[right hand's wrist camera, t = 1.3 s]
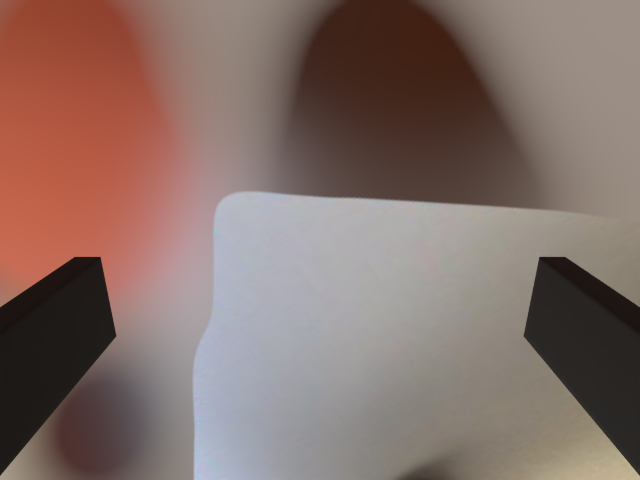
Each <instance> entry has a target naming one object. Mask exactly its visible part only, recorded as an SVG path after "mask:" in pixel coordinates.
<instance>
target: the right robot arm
mask: <svg viewBox="0 0 640 480" xmlns="http://www.w3.org/2000/svg"><path fill="white" fill-rule="evenodd" d="M115 337H116V333H115V327H114V322H113V317H112V312H111V307H110V302H109V297H108V292H107V287H106V282H105V277H104V272H103V267H102V262H101V258H100V257H74V258H73V259H71V260H70V261H68V262H67V263H65V264H64V265H62V266H61V267H59V268H58V269H56V270H55V271H53V272H52V273H51V274H49V275H48V276H46V277H45V278H43V279H42V280H40V281H39V282H37V283H36V284H34V285H33V286H31V287H30V288H28V289H27V290H25V291H24V292H22V293H21V294H19V295H18V296H16V297H15V298H13V299H12V300H11V301H9V302H7V303H6V304H4V305H3V306H2V307H0V475H1V474H2V473H3V472H4V470H5V469H6V468H7V467H8V466H9V464H10V463H11V462H12V461H13V460H14V458H15V457H16V456H17V455H18V454H19V452H20V451H21V450H22V449H23V448H24V446H25V445H26V444H27V443H28V442H29V440H30V439H31V438H32V437H33V436H34V434H35V433H36V432H37V431H38V430H39V428H40V427H41V426H42V425H43V424H44V422H45V421H46V420H47V419H48V418H49V416H50V415H51V414H52V413H53V412H54V410H55V409H56V408H57V407H58V406H59V404H60V403H61V402H62V401H63V400H64V398H65V397H66V396H67V395H68V394H69V392H70V391H71V390H72V389H73V388H74V386H75V385H76V384H77V383H78V382H79V380H80V379H81V378H82V377H83V376H84V374H85V373H86V372H87V371H88V370H89V368H90V367H91V366H92V365H93V364H94V362H95V361H96V360H97V359H98V358H99V356H100V355H101V354H102V353H103V352H104V350H105V349H106V348H107V347H108V345H109V344H110V343H111V342H112V341H113V340H114V338H115ZM524 337H525V338H526V340H527V341H528V342H529V343H530V344H531V346H532V347H533V348H534V349H535V350H536V352H537V353H538V354H539V355H540V356H541V358H542V359H543V360H544V361H545V362H546V364H547V365H548V366H549V367H550V368H551V370H552V371H553V372H554V373H555V374H556V376H557V377H558V378H559V379H560V380H561V382H562V383H563V384H564V385H565V386H566V388H567V389H568V390H569V391H570V392H571V394H572V395H573V396H574V397H575V398H576V400H577V401H578V402H579V403H580V404H581V406H582V407H583V408H584V409H585V410H586V412H587V413H588V414H589V415H590V416H591V418H592V419H593V420H594V421H595V422H596V424H597V425H598V426H599V427H600V428H601V430H602V431H603V432H604V433H605V434H606V436H607V437H608V438H609V439H610V440H611V442H612V443H613V444H614V445H615V446H616V448H617V449H618V450H619V451H620V452H621V454H622V455H623V456H624V457H625V458H626V460H627V461H628V462H629V463H630V464H631V466H632V467H633V468H634V469H635V470H636V472H637V473H638V474H639V475H640V307H638V306H637V305H636V304H634V303H633V302H631V301H630V300H628V299H627V298H625V297H624V296H622V295H621V294H619V293H618V292H616V291H615V290H613V289H612V288H610V287H609V286H607V285H606V284H604V283H603V282H601V281H600V280H598V279H597V278H595V277H594V276H593V275H591V274H590V273H588V272H587V271H585V270H584V269H582V268H581V267H579V266H578V265H576V264H575V263H573V262H572V261H570V260H569V259H567V258H566V257H539V262H538V267H537V272H536V277H535V282H534V287H533V292H532V297H531V302H530V307H529V312H528V317H527V322H526V327H525V332H524Z"/></svg>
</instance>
